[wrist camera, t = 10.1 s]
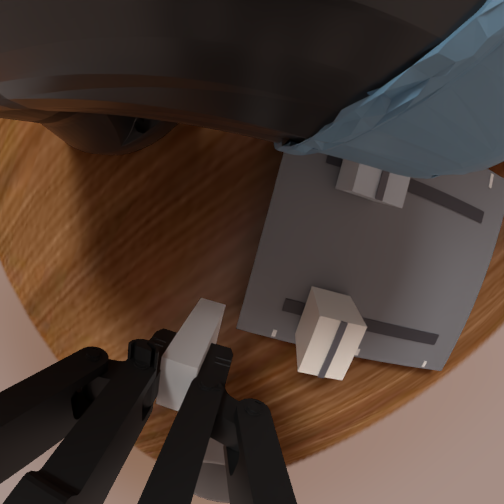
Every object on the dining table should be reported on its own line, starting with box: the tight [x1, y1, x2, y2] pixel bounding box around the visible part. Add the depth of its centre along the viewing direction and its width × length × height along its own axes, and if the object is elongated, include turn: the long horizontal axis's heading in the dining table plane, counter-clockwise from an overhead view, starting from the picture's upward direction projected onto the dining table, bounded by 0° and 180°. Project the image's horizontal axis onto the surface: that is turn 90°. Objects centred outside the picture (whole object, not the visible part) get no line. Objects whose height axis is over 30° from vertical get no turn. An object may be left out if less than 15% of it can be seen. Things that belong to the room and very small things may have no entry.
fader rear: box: [295, 286, 367, 380], centre depth 19 cm, size 3×4×5 cm
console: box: [236, 152, 504, 371], centre depth 22 cm, size 19×18×3 cm
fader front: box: [335, 159, 410, 208], centre depth 17 cm, size 3×4×5 cm
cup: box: [194, 438, 230, 503], centre depth 25 cm, size 8×10×8 cm
